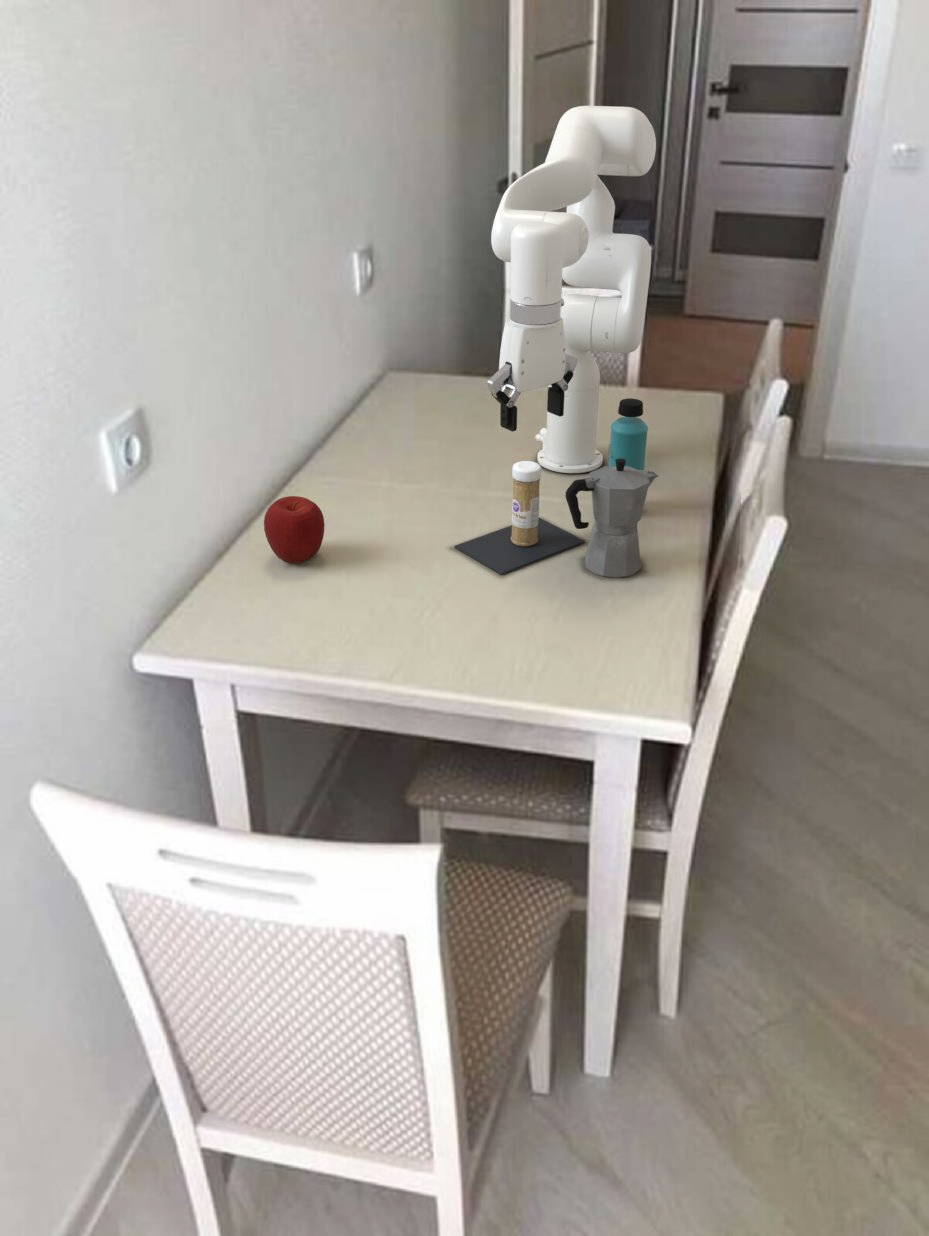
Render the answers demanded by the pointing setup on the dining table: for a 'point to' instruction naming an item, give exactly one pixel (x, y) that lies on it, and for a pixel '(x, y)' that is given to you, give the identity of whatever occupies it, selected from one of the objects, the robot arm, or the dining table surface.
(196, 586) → the dining table surface
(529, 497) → the sprinkles bottle
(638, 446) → the beverage bottle
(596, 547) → the coffeepot
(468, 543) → the mat
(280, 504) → the apple
